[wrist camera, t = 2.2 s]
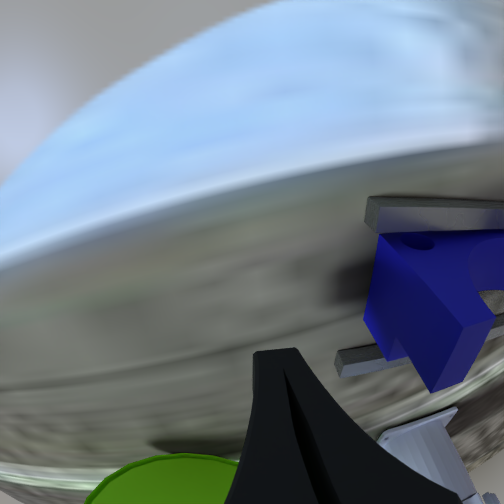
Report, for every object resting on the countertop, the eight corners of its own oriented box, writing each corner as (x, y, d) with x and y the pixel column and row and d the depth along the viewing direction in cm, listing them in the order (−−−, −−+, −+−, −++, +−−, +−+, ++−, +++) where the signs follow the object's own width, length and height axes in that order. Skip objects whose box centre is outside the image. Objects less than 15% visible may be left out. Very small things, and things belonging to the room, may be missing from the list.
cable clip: (361, 317, 15) (416, 417, 10) (377, 232, 13) (463, 328, 7) (514, 282, 16) (569, 339, 11) (535, 220, 14) (602, 271, 8)
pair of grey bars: (505, 322, 17) (513, 330, 17) (334, 364, 16) (339, 378, 15) (550, 205, 13) (561, 212, 12) (368, 197, 12) (380, 206, 11)
